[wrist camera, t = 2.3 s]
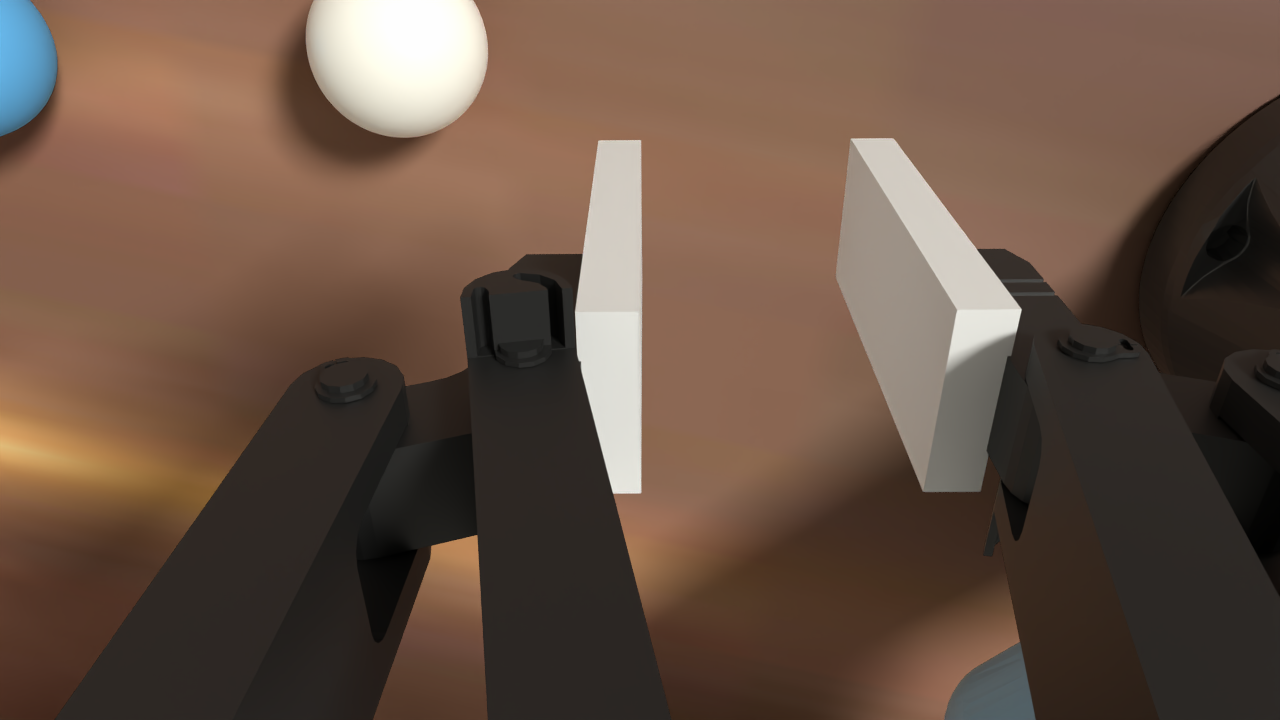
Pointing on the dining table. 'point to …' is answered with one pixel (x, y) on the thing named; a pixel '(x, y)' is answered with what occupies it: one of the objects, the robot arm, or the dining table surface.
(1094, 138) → the dining table surface
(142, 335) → the dining table surface
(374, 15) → the white cue ball
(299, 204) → the dining table surface
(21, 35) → the blue object ball
